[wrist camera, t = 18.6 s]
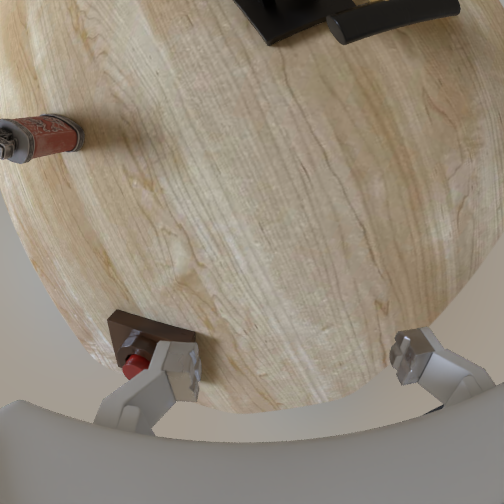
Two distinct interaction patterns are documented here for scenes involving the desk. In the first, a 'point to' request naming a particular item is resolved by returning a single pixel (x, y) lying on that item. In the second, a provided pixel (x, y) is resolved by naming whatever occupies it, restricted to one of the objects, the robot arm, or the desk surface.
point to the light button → (135, 366)
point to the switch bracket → (288, 15)
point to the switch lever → (386, 17)
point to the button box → (141, 335)
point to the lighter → (38, 137)
